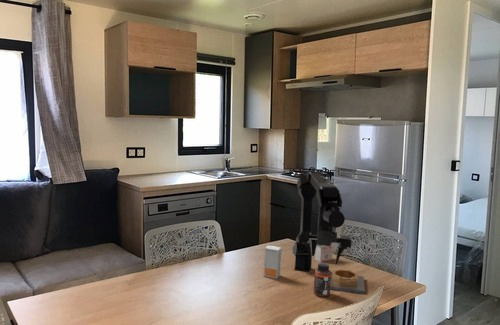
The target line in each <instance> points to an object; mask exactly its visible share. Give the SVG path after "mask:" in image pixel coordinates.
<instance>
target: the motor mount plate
mask: <svg viewBox="0 0 500 325" xmlns="http://www.w3.org/2000/svg"><path fill="white" fill-rule="evenodd" d="M365 288H366V287H365V276H363V275H358V273H357V272H355V271H353V270H350V269H342V268H340V269H335V270H332V272H331V284H330V290H333V291H341V292H348V293H354V294H355V293H356V294H362V295H365V292H366V289H365Z"/></svg>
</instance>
